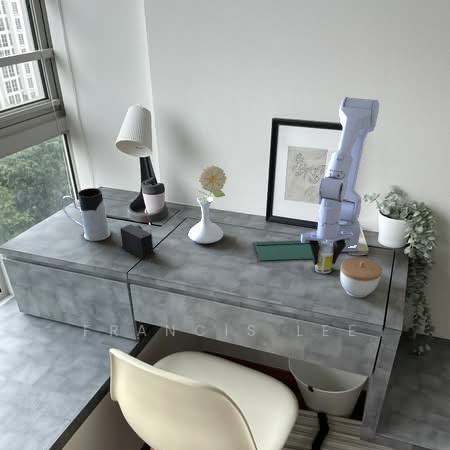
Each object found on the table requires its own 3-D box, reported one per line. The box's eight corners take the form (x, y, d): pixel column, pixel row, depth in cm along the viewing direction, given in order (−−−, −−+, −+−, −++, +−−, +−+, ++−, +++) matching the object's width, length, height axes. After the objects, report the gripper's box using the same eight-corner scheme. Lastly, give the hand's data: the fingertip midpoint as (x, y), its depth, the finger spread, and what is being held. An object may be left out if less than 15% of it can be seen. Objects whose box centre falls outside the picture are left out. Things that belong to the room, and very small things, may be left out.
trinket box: (332, 281, 137) (336, 252, 132) (369, 280, 138) (375, 250, 132) (343, 303, 128) (348, 273, 123) (383, 301, 129) (389, 271, 124)
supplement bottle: (332, 267, 144) (335, 242, 139) (330, 275, 140) (333, 249, 135) (316, 264, 145) (319, 239, 140) (313, 272, 141) (316, 247, 137)
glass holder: (107, 240, 159) (100, 197, 150) (64, 240, 159) (54, 197, 151) (113, 229, 166) (106, 187, 158) (71, 229, 166) (63, 187, 158)
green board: (316, 241, 157) (316, 239, 157) (324, 258, 148) (324, 256, 148) (255, 243, 157) (255, 241, 156) (259, 261, 147) (259, 259, 147)
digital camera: (157, 252, 152) (155, 232, 148) (143, 258, 149) (141, 238, 145) (136, 242, 158) (133, 222, 154) (122, 247, 155) (120, 228, 151)
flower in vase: (183, 243, 157) (178, 168, 143) (197, 228, 166) (194, 156, 152) (220, 250, 153) (219, 173, 139) (233, 235, 162) (233, 161, 147)
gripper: (305, 227, 130) (301, 270, 138) (359, 225, 131) (352, 268, 138) (300, 216, 136) (297, 258, 143) (351, 214, 136) (345, 256, 144)
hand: (323, 262), depth 141 cm, fingers closed on supplement bottle, 5 cm apart
